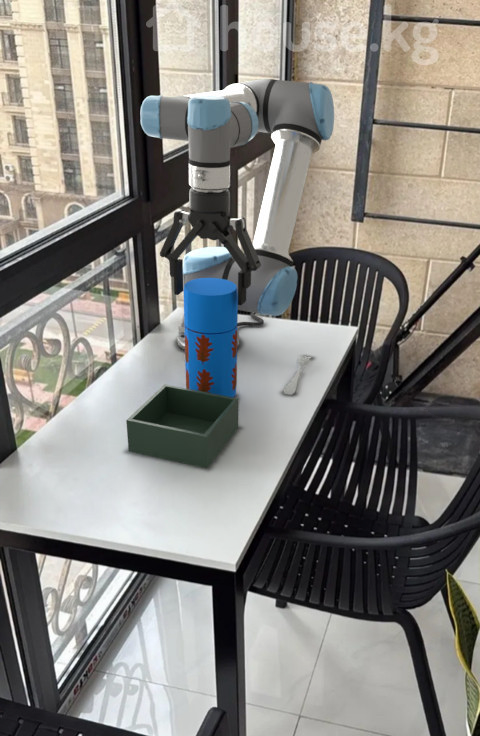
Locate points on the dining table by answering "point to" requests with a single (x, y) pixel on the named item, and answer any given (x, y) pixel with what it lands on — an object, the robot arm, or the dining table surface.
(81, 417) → the dining table surface
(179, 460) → the box
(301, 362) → the fork
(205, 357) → the thermos
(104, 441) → the dining table surface
